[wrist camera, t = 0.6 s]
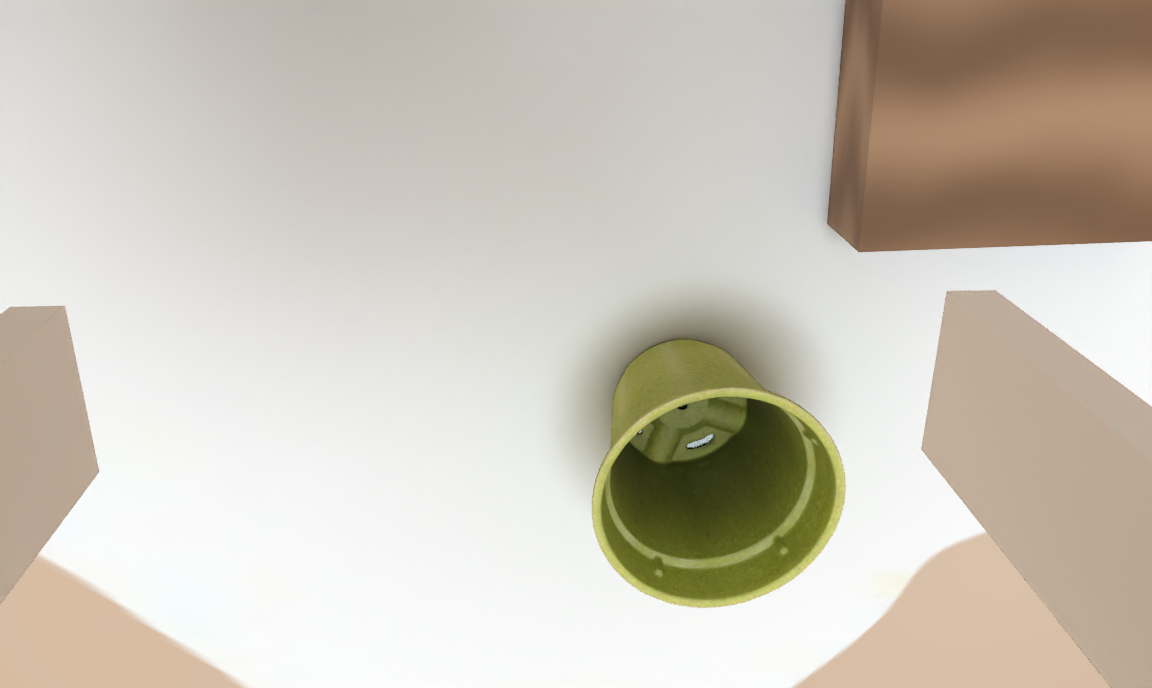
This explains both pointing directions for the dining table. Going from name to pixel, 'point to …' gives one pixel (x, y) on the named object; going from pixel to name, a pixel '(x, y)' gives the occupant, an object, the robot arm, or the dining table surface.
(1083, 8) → the walnut riser block
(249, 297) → the dining table surface
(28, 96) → the dining table surface
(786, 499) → the plant pot
